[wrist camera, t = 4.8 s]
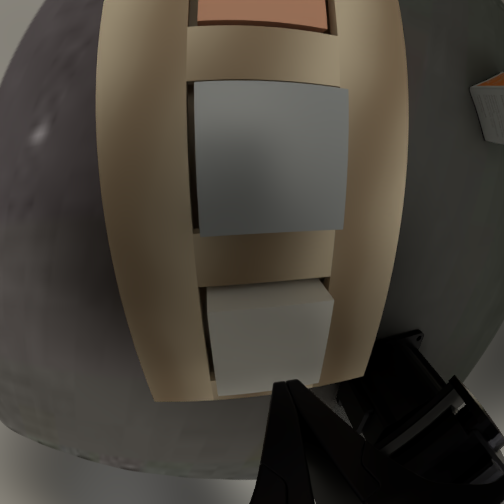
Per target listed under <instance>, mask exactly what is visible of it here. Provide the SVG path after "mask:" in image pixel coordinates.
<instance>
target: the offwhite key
mask: <svg viewBox="0 0 504 504" xmlns="http://www.w3.org/2000/svg"><path fill="white" fill-rule="evenodd" d="M333 305H334V299H333V298H332V296H331V295H330V293H329V292H328V291H327V289H326V288H325V287H324V285H323V284H322V283H321V281H320V280H319V278H309V279H298V280H287V281H276V282H264V283H251V284H238V285H225V286H210V287H207V315H208V324H209V332H210V341H211V349H212V356H213V364H214V371H215V378H216V385H217V392H218V396H227V395H238V394H248V393H257V392H265V391H272V387H273V383H274V382H279V381H285V382H286V381H287V380H293V379H298V380H299V381H300V382H302V383H303V384H304V385H310V384H315V383H319V380H320V375H321V370H322V366H323V361H324V356H325V351H326V345H327V340H328V335H329V329H330V323H331V318H332V311H333Z"/></svg>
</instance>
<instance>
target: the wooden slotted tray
mask: <svg viewBox="0 0 504 504" xmlns="http://www.w3.org/2000/svg"><path fill="white" fill-rule="evenodd" d="M325 5H326V16H327V30H326V31H324V32H323V33H317V32H311V31H304V30H297V29H288V28H278V27H265V26H243V25H216V26H198V23H197V17H198V0H104V5H103V11H102V18H101V26H100V34H99V44H98V56H97V73H96V136H97V153H98V166H99V177H100V187H101V195H102V203H103V210H104V217H105V224H106V230H107V236H108V241H109V247H110V252H111V257H112V262H113V266H114V271H115V276H116V280H117V284H118V288H119V293H120V297H121V300H122V304H123V308H124V312H125V315H126V319H127V322H128V326H129V329H130V333H131V336H132V339H133V342H134V346H135V349H136V352H137V355H138V358H139V361H140V364H141V367H142V369H143V372H144V375H145V378H146V380H147V383H148V386H149V388H150V391H151V394H152V396H153V399H154V401H155V402H185V401H208V400H223V399H235V398H245V397H254V396H262V395H270V394H272V391H265V392H257V393H248V394H238V395H227V396H218V392H217V385H216V378H215V371H214V364H213V356H212V349H211V341H210V332H209V324H208V315H207V287H210V286H225V285H238V284H251V283H264V282H276V281H287V280H298V279H309V278H319V280H320V281H321V283H322V284H323V285H324V287H325V288H326V289H327V291H328V292H329V293H330V295H331V296H332V298H333V299H334V305H333V311H332V318H331V323H330V329H329V335H328V340H327V345H326V351H325V356H324V361H323V366H322V370H321V375H320V380H319V383H315V384H310V385H305V386H306V387H307V388H313V387H318V386H323V385H328V384H332V383H337V382H341V381H346V380H350V379H354V378H358V377H362V376H364V373H365V370H366V367H367V364H368V361H369V358H370V355H371V351H372V348H373V345H374V342H375V338H376V335H377V331H378V328H379V324H380V321H381V317H382V313H383V309H384V305H385V301H386V297H387V293H388V289H389V284H390V280H391V275H392V270H393V265H394V260H395V255H396V249H397V243H398V237H399V231H400V224H401V217H402V209H403V201H404V192H405V182H406V169H407V153H408V119H409V112H408V78H407V64H406V52H405V43H404V34H403V27H402V20H401V14H400V8H399V3H398V0H325ZM202 81H276V82H291V83H303V84H313V85H322V86H330V87H337V88H343V89H348V94H349V136H348V167H347V186H346V201H345V213H344V225H343V229H342V230H319V231H298V232H278V233H260V234H242V235H226V236H210V237H200V228H199V213H198V197H197V178H196V155H195V120H194V82H202Z"/></svg>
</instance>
